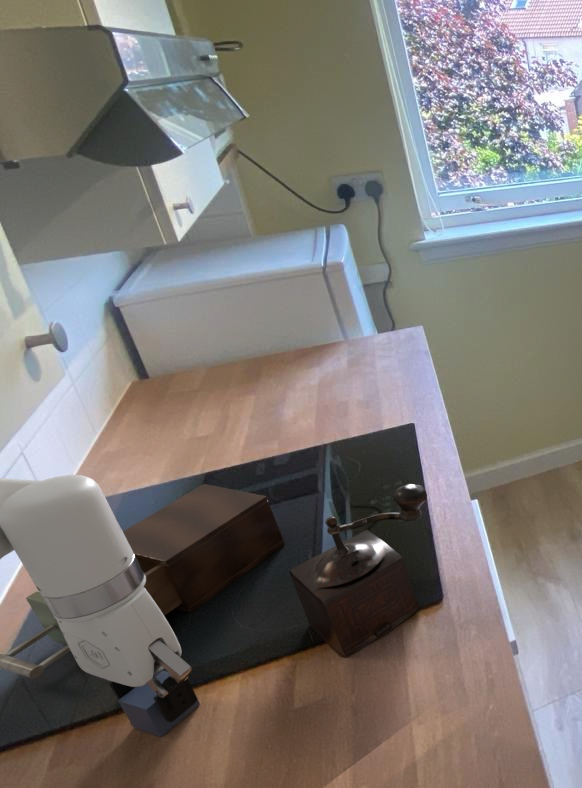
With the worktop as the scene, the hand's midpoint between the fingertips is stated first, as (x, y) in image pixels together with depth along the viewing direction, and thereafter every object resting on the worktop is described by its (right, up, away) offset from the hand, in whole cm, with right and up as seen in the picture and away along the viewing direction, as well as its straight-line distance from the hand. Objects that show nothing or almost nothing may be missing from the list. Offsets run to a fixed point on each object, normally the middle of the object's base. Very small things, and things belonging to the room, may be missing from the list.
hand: (160, 703), depth 85 cm
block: (0, -2, +1) cm, 2 cm away
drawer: (-17, +4, +12) cm, 22 cm away
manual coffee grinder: (+17, +5, +16) cm, 24 cm away
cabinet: (-14, +8, +24) cm, 29 cm away
